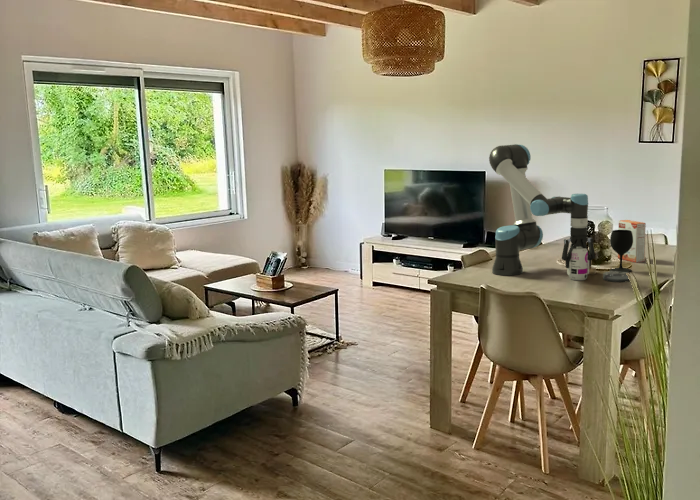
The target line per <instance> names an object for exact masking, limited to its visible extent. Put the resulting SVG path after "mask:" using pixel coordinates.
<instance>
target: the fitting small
mask: <svg viewBox="0 0 700 500" xmlns="http://www.w3.org/2000/svg"><path fill="white" fill-rule="evenodd" d="M592 261H593V259H592V260H591V266H590V267H589V274H587V276H591V275H596V274H597V273H596V272H597V268H596V267H594V266H592V264H593V263H592Z"/></svg>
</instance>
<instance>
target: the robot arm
mask: <svg viewBox="0 0 700 500" xmlns="http://www.w3.org/2000/svg"><path fill="white" fill-rule="evenodd" d="M529 150H530V149H528V147H526V146H525V145H523V144H517V143H516V144H515V143H514V144H506V145H497V146H496V147H494V148H493V149H492V150H491V151H490V153H489V157H488V159H489V160H488V161H489V164H490V167H491V168H492V169H493V171H494V172H495V173H496V174H497V175H498V176H502V178H504V180H506V182H507V183H508V184H509V188H510V194H511V201H512V207H513V208H512V209H513V214H514V223H513V224H511V225H503V226H500V227H498V228H497V229H496V230H495V237H494V238H495V239H494V240H495V241H494V242H495V259H494V262H493V265H492V271H491V272H492V274H494V275H497V276H518V275H521V274H523V273H524V269H523V265H522V262H521V258H520V251H524V250H527V249H528V250H529V249H533V248H537V247H539V245H540V244H541V243H542V241H543V237H544V232H543V230H542V228H541V227H540V226H539V225H537V221H536V220H535V219H533V216H536V217H545V216H548V215H556V214H557V215H558V214H570V230H569V231H570V234H569V235H570V236H569V238H568V239H566V238H565V239H564V240H563V249H562V255H561V260H563V261H565V268H566V275H568V276H569V275H571V261H570V259H571V257H572V250H573V249H576V247H579V246H580V247H582V248H586V249H587V250H588V263H587V274H589V267H590V266H591V267H592V265H591V260H592V261H593V259H595V258H596V253H595V247H594V240H595V239H594V238H593V237H588V224H589V223H588V221H589V220H588V218H589V217H588V212H589V211H588V210H589V196H588V194H586V193H572V194H571V196H570V197H567V196H566V197H565V196H560V195H559V196H552V197H551V198H547V197H546V196H545V195H544V194H543V193H542V192H541V191H540V190H539V189H538V188H537V187H536V186H535V185H534V184H533V183H532V182H531V181H530V180H529V179H528V178H527V177H526V176H527V175H526V172H527V170H528V165H529V164H530V161H531V153H530V151H529ZM570 243H571V244H570ZM586 243H588V247H587V244H586ZM569 246H570V247H569Z"/></svg>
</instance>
